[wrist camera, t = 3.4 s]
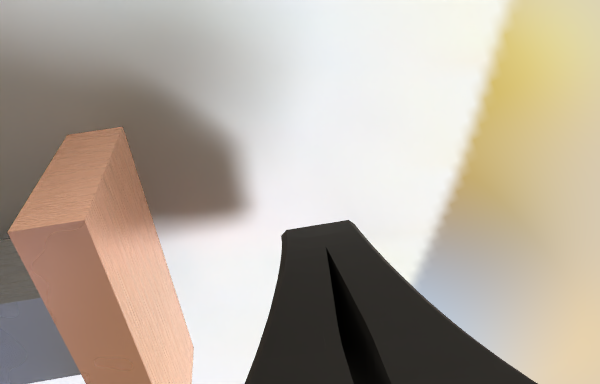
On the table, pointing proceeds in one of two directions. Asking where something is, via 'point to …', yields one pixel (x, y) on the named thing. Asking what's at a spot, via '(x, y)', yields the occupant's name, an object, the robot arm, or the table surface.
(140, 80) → the table surface
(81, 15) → the table surface
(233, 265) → the table surface
